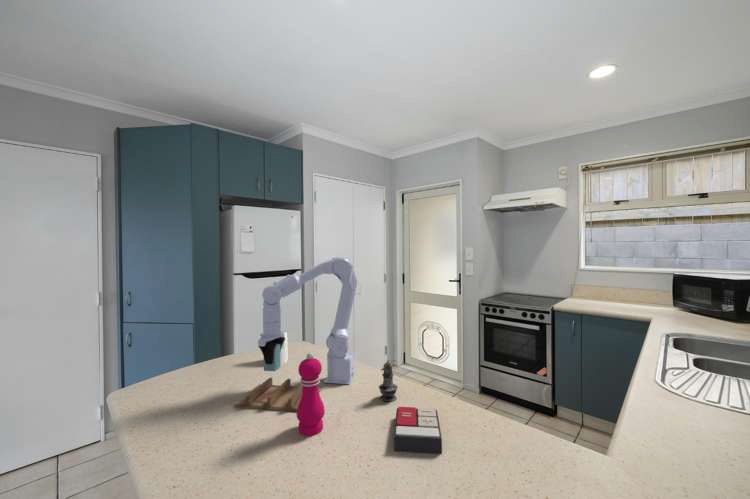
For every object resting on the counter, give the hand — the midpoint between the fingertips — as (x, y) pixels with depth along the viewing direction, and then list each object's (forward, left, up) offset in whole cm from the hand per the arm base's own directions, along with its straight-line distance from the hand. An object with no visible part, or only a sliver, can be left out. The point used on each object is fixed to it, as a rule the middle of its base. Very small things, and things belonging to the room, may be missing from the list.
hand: (272, 361), depth 108 cm
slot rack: (-6, +6, -9) cm, 13 cm away
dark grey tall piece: (-40, +1, -10) cm, 41 cm away
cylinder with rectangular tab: (+11, -26, -10) cm, 30 cm away
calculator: (-49, +19, -10) cm, 54 cm away
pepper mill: (-22, +21, -10) cm, 32 cm away
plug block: (0, 0, -2) cm, 3 cm away
